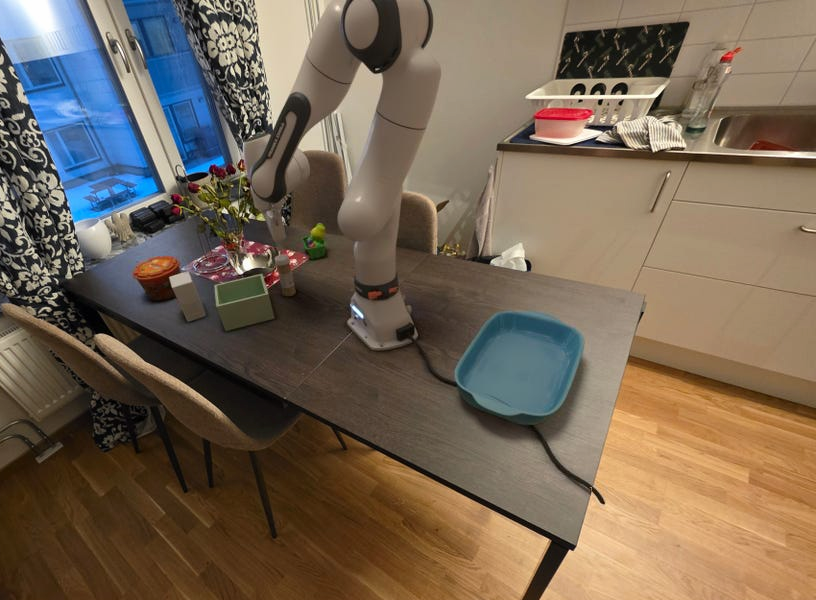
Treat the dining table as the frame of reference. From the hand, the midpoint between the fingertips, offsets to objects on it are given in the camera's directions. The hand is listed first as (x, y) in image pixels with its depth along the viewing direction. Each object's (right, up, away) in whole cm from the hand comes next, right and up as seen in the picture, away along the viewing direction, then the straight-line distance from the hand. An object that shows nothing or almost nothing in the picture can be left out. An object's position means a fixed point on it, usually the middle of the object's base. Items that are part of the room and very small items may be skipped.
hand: (278, 243), depth 120 cm
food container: (-44, -11, +22) cm, 51 cm away
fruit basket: (+11, +6, +33) cm, 35 cm away
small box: (-29, -21, +9) cm, 37 cm away
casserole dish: (+60, -40, -28) cm, 78 cm away
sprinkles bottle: (+2, -14, +12) cm, 18 cm away
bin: (-10, -21, +5) cm, 24 cm away
